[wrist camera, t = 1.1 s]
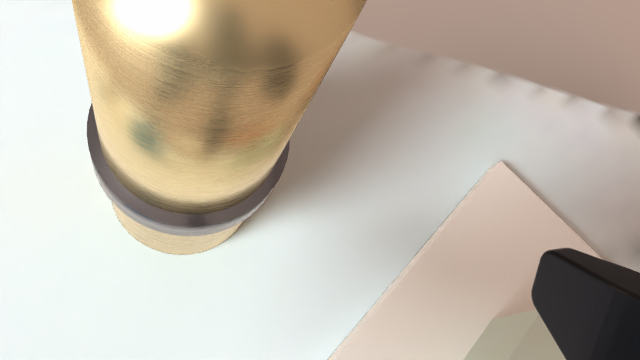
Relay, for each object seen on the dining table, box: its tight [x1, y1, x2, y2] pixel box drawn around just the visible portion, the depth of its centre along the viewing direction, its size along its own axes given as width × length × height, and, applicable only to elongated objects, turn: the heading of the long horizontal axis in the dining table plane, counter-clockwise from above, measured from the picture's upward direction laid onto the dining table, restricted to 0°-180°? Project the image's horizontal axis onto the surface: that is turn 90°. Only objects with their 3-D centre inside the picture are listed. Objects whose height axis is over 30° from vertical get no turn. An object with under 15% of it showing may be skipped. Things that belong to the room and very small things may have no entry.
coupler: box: [72, 0, 366, 255], centre depth 15 cm, size 6×6×13 cm
